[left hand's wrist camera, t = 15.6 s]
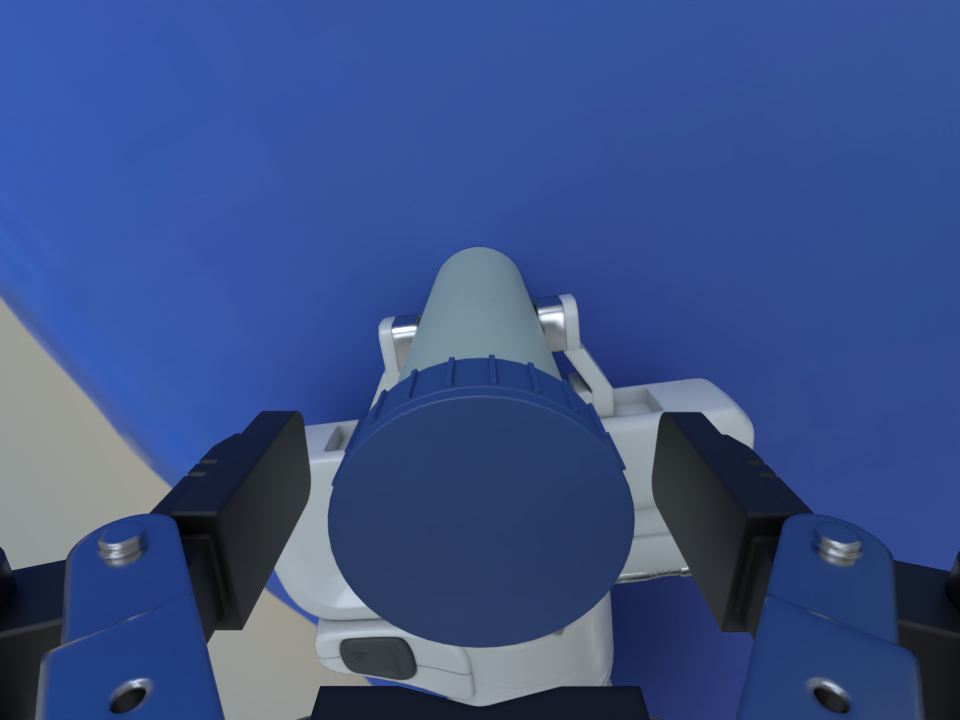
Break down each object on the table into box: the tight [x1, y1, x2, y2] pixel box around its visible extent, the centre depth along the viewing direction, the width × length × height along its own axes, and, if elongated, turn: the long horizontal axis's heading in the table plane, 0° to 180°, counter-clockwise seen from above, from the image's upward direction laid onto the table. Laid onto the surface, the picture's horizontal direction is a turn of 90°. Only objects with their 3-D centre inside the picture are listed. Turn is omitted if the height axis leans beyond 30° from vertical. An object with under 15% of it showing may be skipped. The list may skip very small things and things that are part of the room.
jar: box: [397, 247, 562, 383], centre depth 18 cm, size 4×4×18 cm
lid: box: [328, 354, 635, 648], centre depth 10 cm, size 6×6×2 cm
